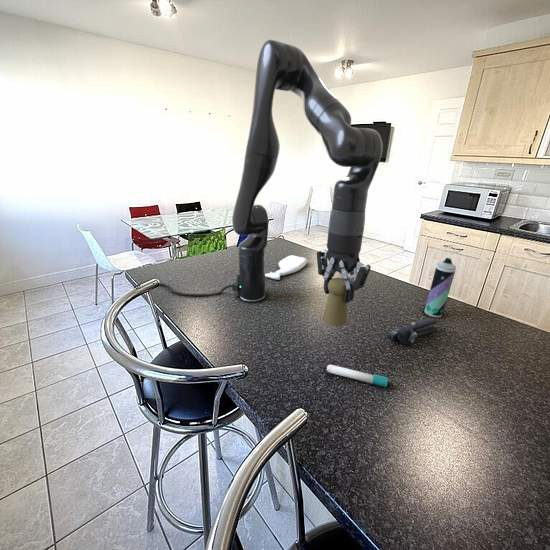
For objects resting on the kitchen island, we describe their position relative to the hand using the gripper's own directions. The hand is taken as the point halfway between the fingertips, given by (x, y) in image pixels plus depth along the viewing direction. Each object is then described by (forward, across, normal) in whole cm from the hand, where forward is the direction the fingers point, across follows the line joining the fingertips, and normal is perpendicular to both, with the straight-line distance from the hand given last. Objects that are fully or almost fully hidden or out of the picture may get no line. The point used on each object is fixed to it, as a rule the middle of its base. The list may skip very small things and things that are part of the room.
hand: (337, 297), depth 71 cm
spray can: (+18, +8, +45) cm, 49 cm away
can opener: (+18, +10, +27) cm, 34 cm away
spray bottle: (+18, -50, +30) cm, 61 cm away
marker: (+18, +9, -2) cm, 20 cm away
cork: (+7, 0, 0) cm, 7 cm away
